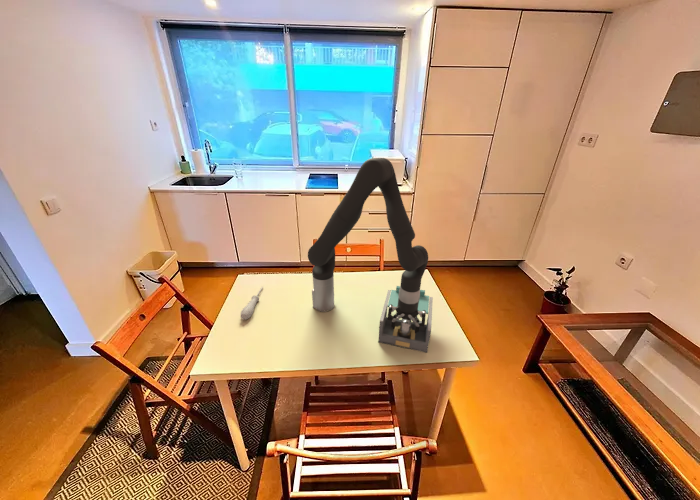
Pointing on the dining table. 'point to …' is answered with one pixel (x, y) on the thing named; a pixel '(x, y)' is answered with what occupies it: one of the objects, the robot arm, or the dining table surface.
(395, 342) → the housing
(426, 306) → the lid
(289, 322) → the dining table surface
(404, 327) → the pin
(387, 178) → the robot arm
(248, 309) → the screwdriver
